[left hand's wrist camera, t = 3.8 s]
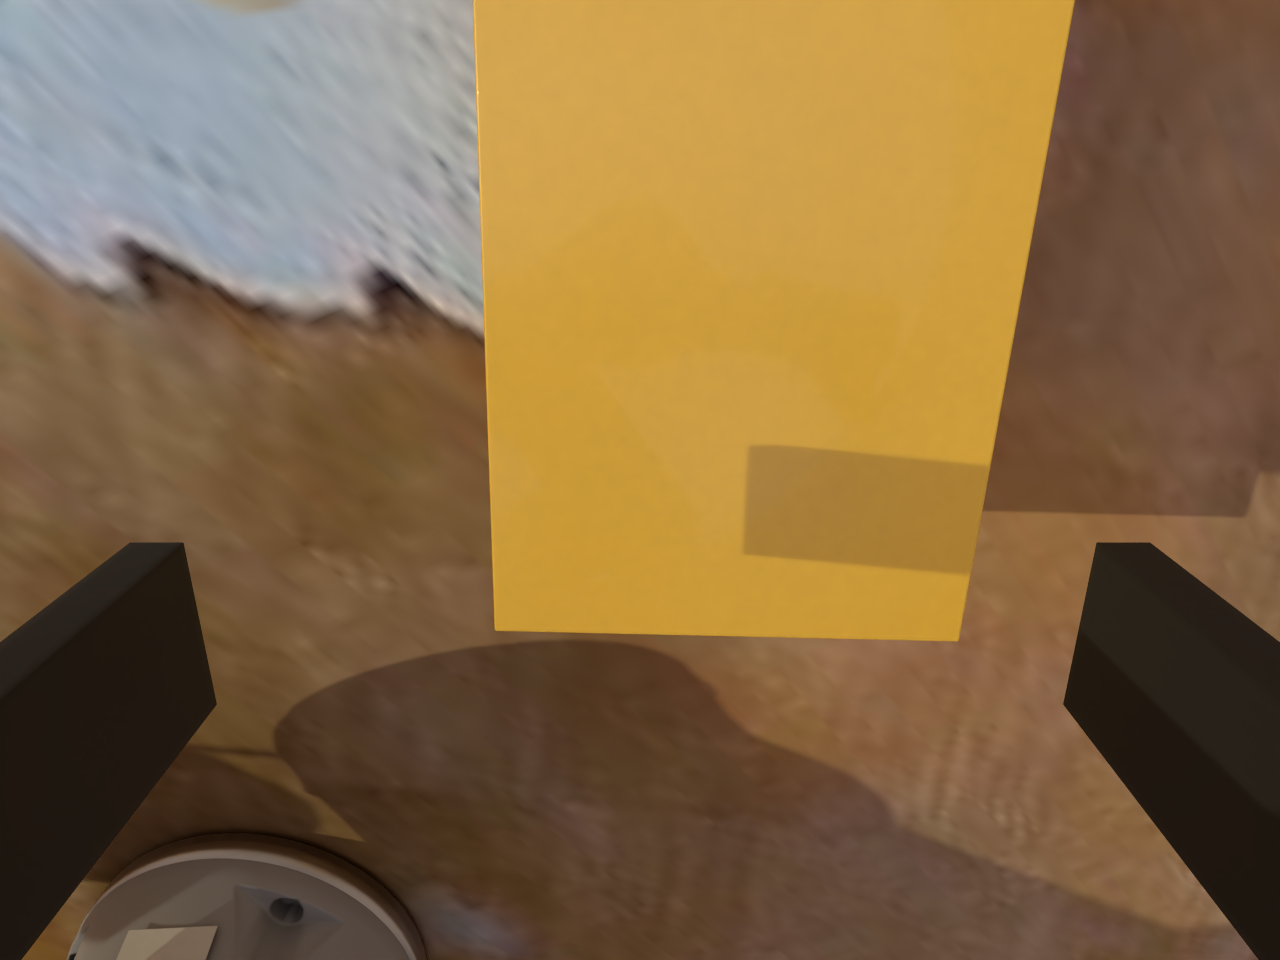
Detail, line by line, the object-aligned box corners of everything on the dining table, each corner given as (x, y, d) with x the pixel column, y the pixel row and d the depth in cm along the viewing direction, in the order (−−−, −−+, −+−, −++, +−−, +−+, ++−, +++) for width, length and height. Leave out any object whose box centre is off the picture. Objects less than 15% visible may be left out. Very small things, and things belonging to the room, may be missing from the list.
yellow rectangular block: (532, -278, 24) (450, -618, 13) (944, -263, 24) (1183, -588, 13) (541, 473, 31) (494, 631, 21) (852, 481, 32) (959, 642, 21)
